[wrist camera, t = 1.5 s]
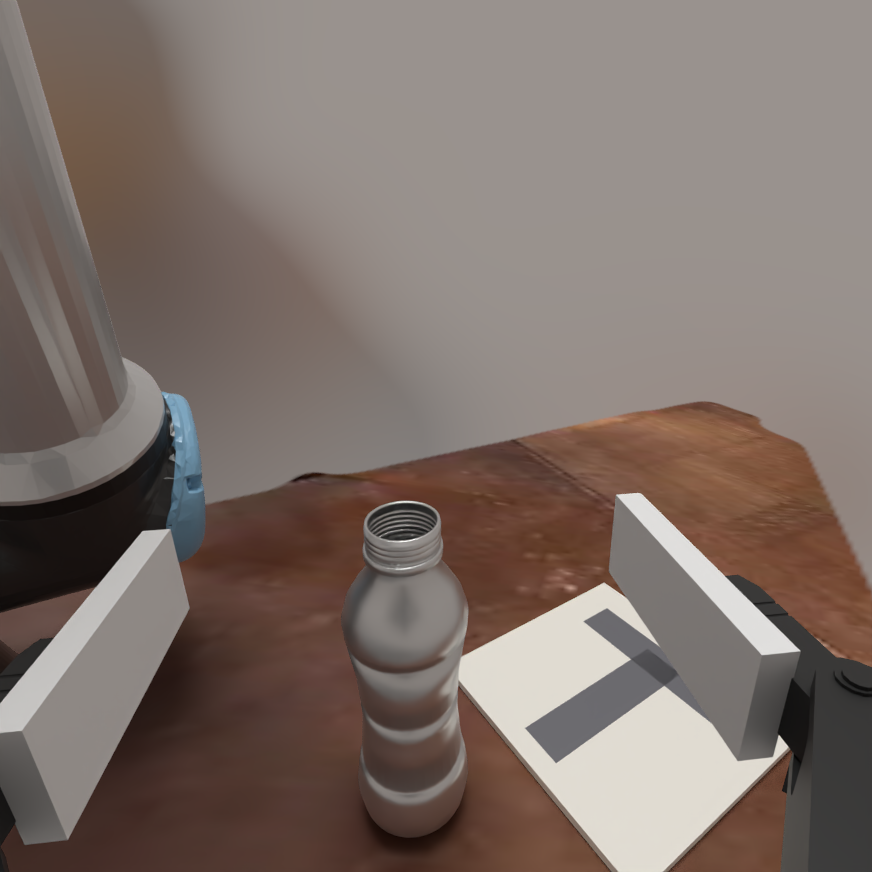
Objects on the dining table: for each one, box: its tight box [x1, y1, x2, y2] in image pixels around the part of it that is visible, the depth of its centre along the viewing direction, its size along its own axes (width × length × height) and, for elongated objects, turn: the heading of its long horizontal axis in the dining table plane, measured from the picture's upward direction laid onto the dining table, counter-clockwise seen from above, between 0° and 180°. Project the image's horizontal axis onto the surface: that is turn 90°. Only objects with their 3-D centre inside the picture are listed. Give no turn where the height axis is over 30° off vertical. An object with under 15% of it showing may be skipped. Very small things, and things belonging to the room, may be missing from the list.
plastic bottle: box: [341, 501, 468, 838], centre depth 29 cm, size 6×7×20 cm
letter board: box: [458, 583, 790, 872], centre depth 39 cm, size 18×18×1 cm
